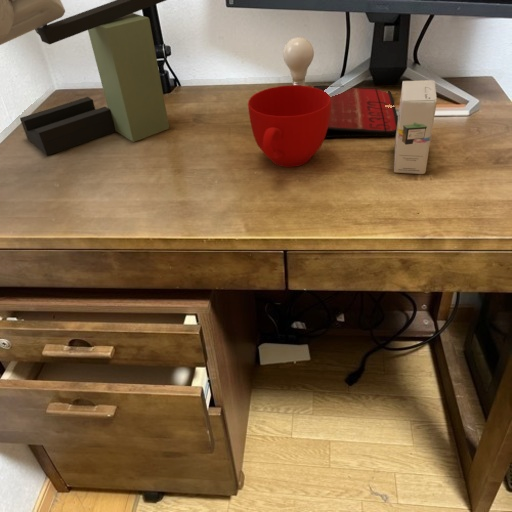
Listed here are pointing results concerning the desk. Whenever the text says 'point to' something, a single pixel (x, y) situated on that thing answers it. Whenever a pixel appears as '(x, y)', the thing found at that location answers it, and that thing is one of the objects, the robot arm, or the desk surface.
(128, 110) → the stand
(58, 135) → the dock pad
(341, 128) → the binder
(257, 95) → the ceramic cup
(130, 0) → the pad strip
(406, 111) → the ink box
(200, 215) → the desk surface
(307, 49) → the lightbulb
